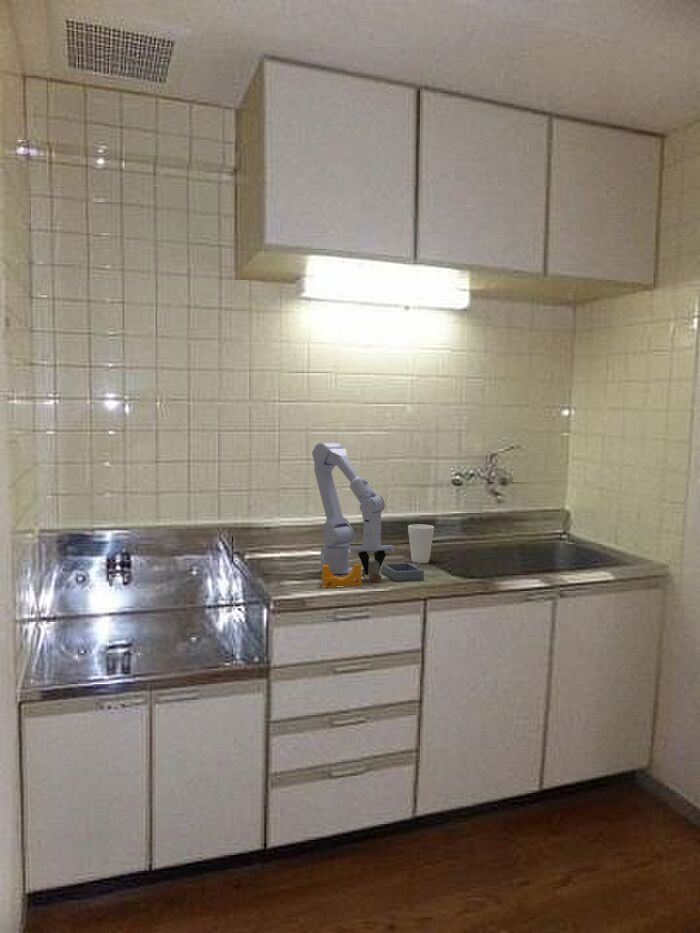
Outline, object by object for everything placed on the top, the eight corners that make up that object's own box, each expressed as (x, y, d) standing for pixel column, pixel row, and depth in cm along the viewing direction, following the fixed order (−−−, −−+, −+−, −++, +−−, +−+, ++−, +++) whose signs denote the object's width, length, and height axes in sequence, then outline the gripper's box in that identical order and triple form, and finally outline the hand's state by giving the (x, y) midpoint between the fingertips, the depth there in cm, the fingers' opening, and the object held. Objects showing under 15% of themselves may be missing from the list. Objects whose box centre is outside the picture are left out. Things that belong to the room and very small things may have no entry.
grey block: (370, 581, 211) (370, 562, 210) (363, 576, 217) (364, 558, 217) (379, 580, 211) (379, 562, 211) (372, 576, 218) (372, 558, 218)
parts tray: (394, 581, 211) (394, 572, 211) (381, 572, 223) (381, 563, 223) (423, 579, 214) (423, 570, 213) (409, 571, 226) (409, 562, 226)
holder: (372, 582, 209) (372, 576, 209) (362, 575, 219) (362, 569, 219) (381, 582, 210) (381, 576, 209) (370, 574, 220) (370, 568, 220)
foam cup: (407, 563, 238) (408, 528, 238) (407, 558, 248) (407, 524, 247) (434, 564, 238) (434, 528, 237) (432, 559, 247) (433, 524, 246)
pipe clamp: (324, 588, 202) (324, 567, 201) (321, 585, 206) (321, 564, 205) (362, 587, 204) (362, 566, 204) (359, 583, 208) (359, 563, 208)
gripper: (354, 535, 208) (353, 578, 209) (397, 534, 212) (396, 575, 212) (347, 532, 214) (347, 573, 215) (390, 530, 218) (389, 571, 219)
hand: (371, 574), depth 214 cm, fingers closed on grey block, 3 cm apart
